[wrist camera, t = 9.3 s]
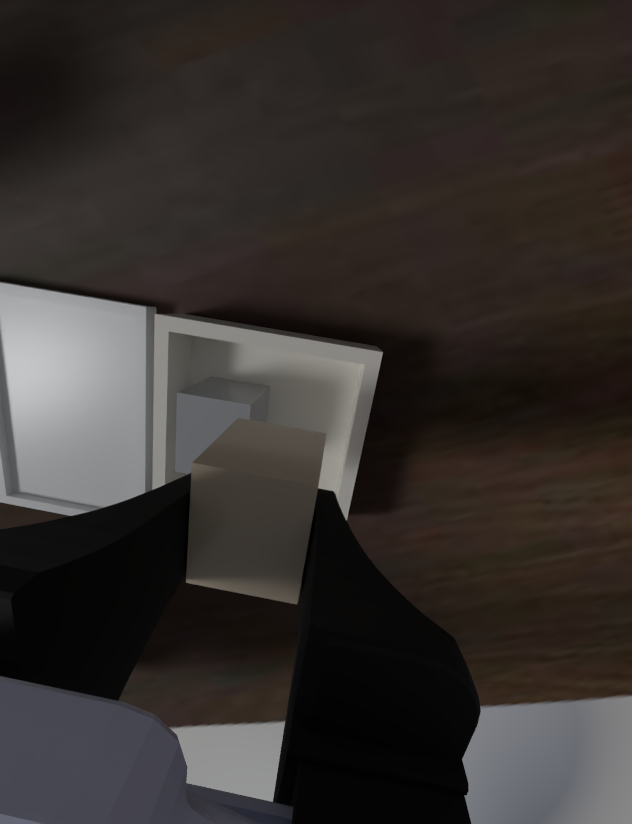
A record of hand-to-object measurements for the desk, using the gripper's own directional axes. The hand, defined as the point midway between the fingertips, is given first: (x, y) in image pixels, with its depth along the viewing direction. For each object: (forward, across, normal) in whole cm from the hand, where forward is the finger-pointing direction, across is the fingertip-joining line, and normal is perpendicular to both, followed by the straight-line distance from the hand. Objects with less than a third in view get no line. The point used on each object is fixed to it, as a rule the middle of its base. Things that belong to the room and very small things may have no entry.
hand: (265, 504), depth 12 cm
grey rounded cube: (+8, +4, 0) cm, 9 cm away
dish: (+8, +2, 0) cm, 9 cm away
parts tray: (+8, +14, +2) cm, 16 cm away
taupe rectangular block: (+2, 0, 0) cm, 2 cm away
